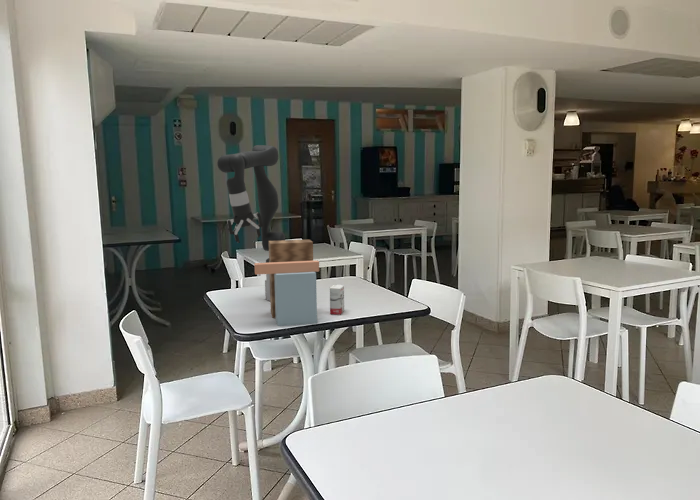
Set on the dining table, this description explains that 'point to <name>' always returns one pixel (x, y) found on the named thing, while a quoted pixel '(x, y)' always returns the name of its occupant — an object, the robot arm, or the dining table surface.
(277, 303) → the grey foam block
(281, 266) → the bar
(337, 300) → the ink box
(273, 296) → the plinth
